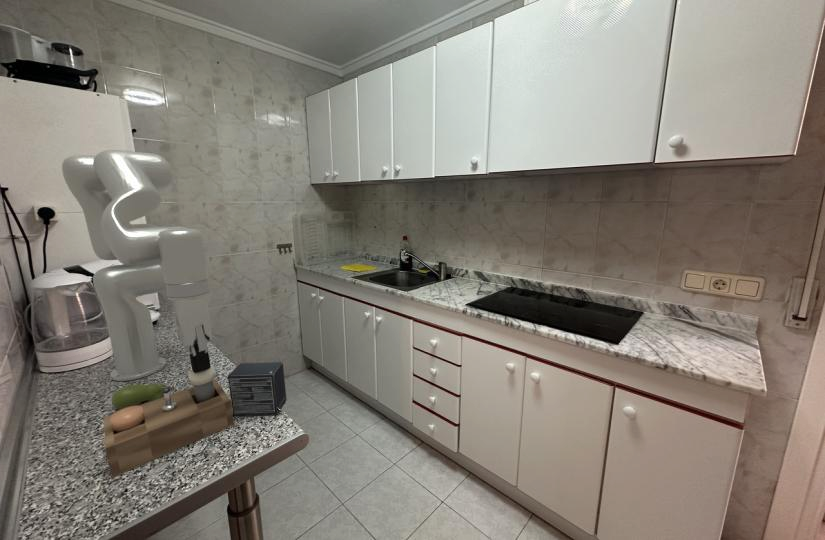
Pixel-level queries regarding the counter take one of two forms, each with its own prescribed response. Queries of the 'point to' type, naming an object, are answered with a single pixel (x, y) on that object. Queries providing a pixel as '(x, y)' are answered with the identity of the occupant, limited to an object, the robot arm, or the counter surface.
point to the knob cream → (203, 384)
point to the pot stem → (168, 400)
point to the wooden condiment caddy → (166, 428)
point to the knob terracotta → (127, 418)
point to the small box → (257, 389)
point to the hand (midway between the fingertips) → (201, 369)
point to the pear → (136, 395)
